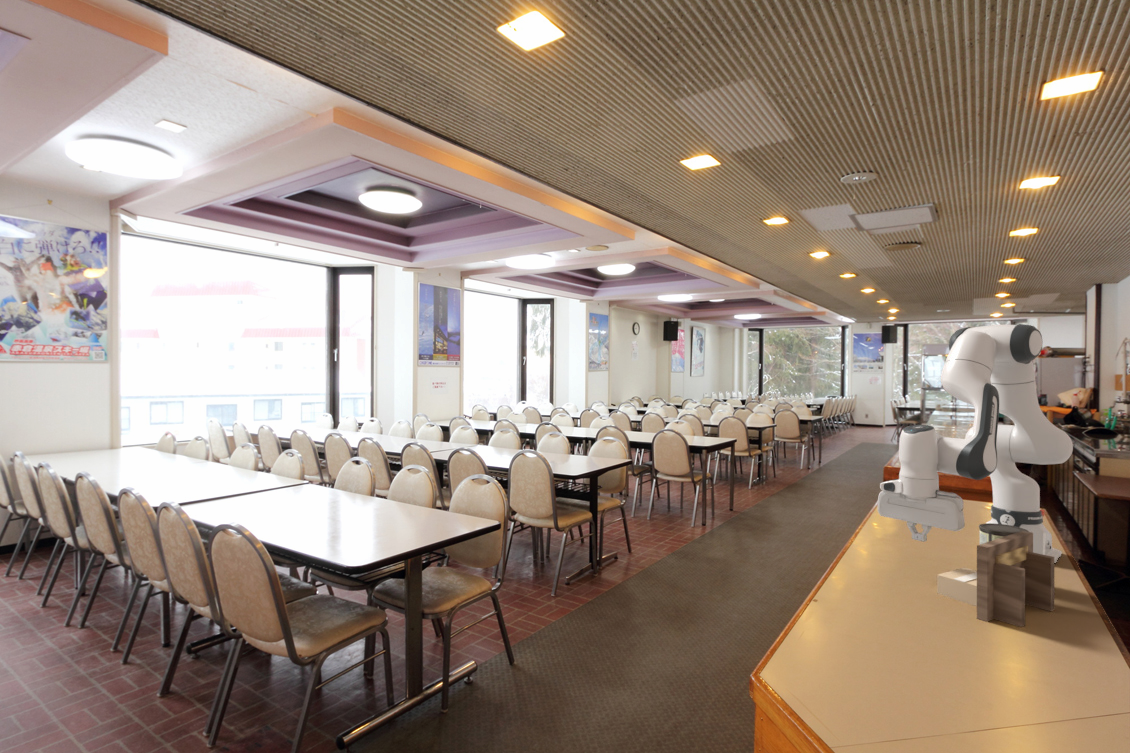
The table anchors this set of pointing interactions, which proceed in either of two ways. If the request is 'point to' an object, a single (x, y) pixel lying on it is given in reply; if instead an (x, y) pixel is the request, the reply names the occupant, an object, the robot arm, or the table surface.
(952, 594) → the carton
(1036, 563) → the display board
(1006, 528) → the coffee can
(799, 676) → the table surface
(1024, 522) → the robot arm
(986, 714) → the table surface
